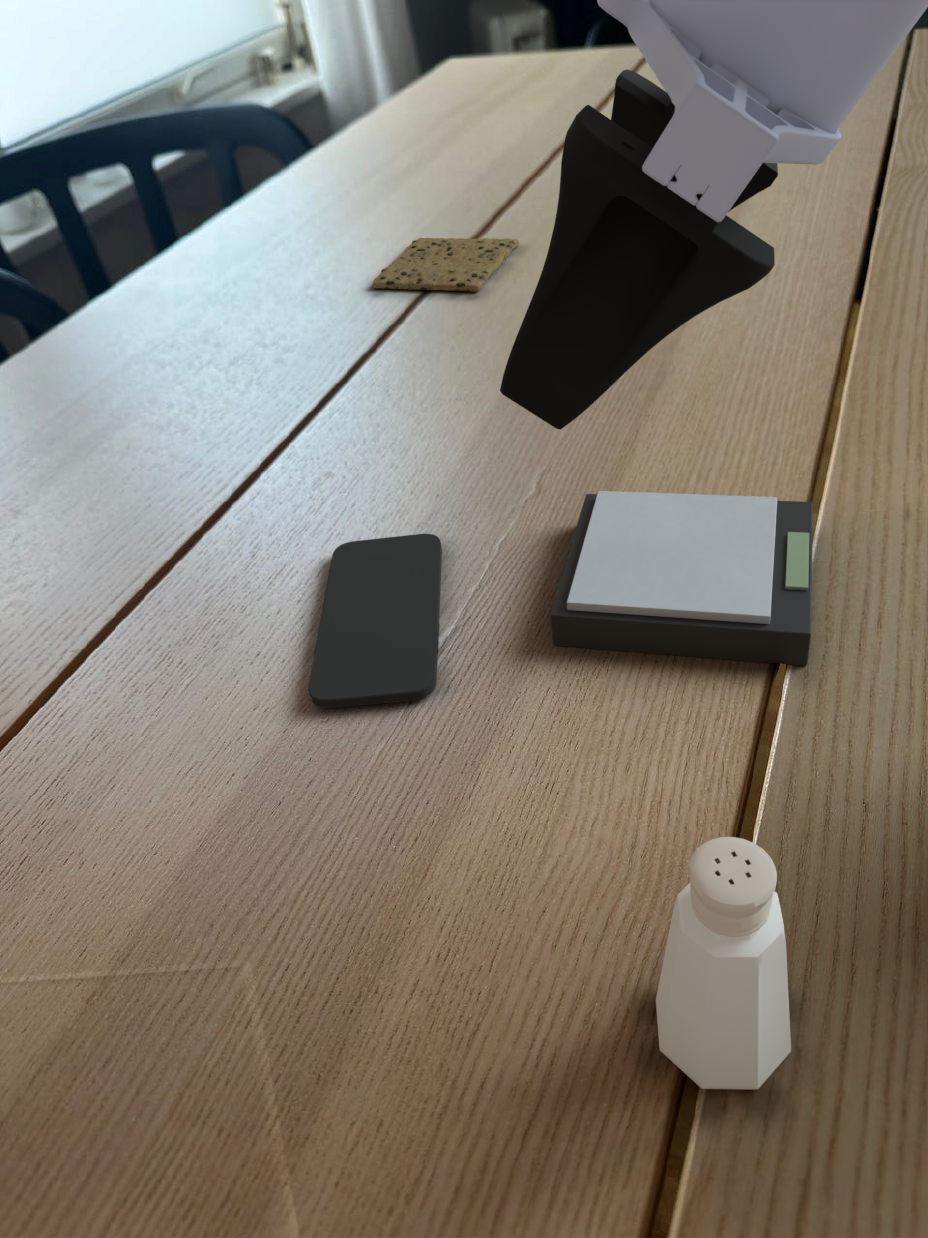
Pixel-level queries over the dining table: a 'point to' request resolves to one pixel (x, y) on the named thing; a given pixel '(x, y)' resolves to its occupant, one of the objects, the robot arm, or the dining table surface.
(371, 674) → the phone
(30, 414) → the dining table surface
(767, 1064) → the pepper shaker
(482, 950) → the dining table surface
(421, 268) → the cookie
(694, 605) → the scale
